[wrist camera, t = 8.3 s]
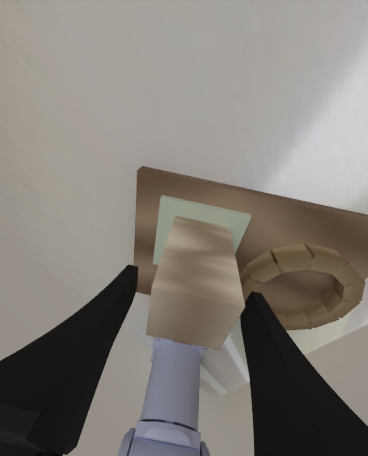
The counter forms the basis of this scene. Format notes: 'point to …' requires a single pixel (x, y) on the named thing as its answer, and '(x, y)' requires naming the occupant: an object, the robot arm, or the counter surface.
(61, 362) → the robot arm
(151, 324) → the peg
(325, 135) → the counter surface
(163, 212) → the sage pad
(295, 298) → the base board
